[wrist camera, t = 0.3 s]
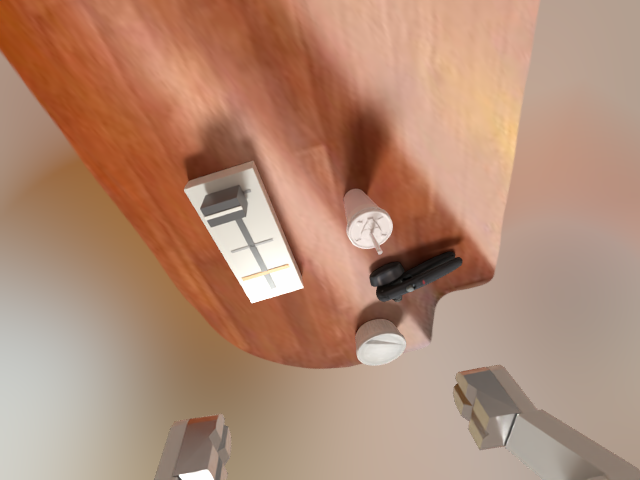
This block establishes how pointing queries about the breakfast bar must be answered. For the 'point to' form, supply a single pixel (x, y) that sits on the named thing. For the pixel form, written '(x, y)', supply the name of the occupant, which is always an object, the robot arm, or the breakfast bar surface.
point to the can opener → (411, 276)
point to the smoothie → (366, 221)
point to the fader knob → (224, 206)
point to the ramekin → (379, 342)
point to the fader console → (250, 234)
